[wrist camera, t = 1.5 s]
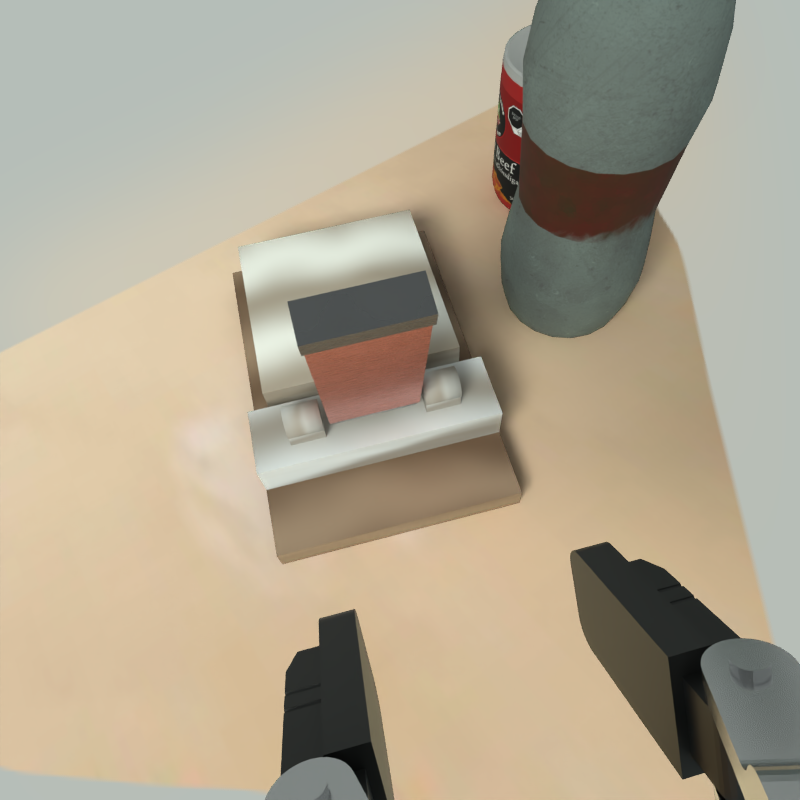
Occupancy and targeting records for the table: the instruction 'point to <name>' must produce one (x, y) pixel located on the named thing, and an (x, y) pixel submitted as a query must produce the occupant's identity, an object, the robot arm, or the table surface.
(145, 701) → the table surface
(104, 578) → the table surface
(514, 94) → the canned food
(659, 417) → the table surface
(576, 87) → the bottle
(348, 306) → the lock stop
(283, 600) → the table surface
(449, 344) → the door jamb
